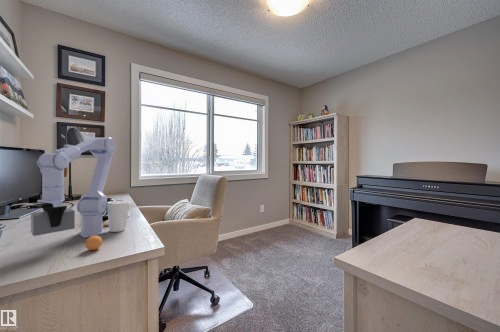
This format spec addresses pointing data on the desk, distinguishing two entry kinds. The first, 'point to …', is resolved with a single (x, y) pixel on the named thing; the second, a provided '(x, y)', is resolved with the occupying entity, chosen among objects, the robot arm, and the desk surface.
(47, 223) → the grey rectangular brick
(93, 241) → the ball
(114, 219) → the foam cup
